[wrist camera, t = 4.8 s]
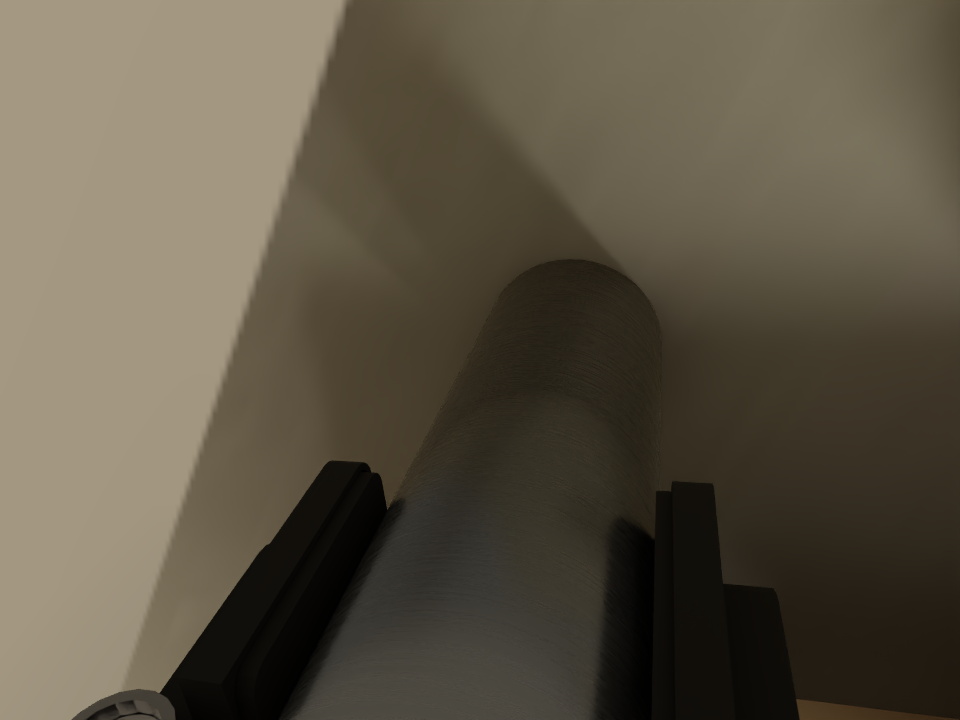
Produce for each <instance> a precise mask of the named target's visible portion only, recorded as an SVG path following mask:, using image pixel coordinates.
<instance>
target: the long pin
mask: <svg viewBox="0 0 960 720" xmlns="http://www.w3.org/2000/svg"><path fill="white" fill-rule="evenodd" d="M660 392H661V332H660V327H659V322H658V319H657V316H656V314H655V311H654V309H653V307H652V305H651V303H650V302H649V300H648V299H647V297H646V296H645V295H644V293H643V292H642V291H641V290H640V289H639V288H638V287H637V286H636V285H635V284H634V283H633V282H632V281H630V280H629V279H628V278H627V277H625V276H624V275H622V274H620V273H619V272H617V271H615V270H613V269H611V268H609V267H607V266H604V265H601V264H598V263H594V262H589V261H584V260H558V261H553V262H548V263H544V264H541V265H538V266H536V267H534V268H532V269H530V270H528V271H526V272H524V273H523V274H521V275H520V276H518V277H517V278H516V279H515V280H513V281H512V282H511V283H510V284H509V285H508V286H507V287H506V289H505V290H504V291H503V292H502V294H501V295H500V297H499V299H498V300H497V302H496V304H495V306H494V308H493V309H492V311H491V313H490V315H489V317H488V319H487V321H486V323H485V325H484V327H483V329H482V330H481V332H480V334H479V336H478V338H477V340H476V342H475V344H474V346H473V348H472V350H471V352H470V353H469V355H468V357H467V359H466V361H465V363H464V365H463V367H462V369H461V371H460V373H459V374H458V376H457V378H456V380H455V382H454V384H453V386H452V388H451V390H450V392H449V394H448V395H447V397H446V399H445V401H444V403H443V405H442V407H441V409H440V411H439V413H438V415H437V417H436V418H435V420H434V422H433V424H432V426H431V428H430V430H429V432H428V434H427V436H426V438H425V439H424V441H423V443H422V445H421V447H420V449H419V451H418V453H417V455H416V457H415V459H414V461H413V462H412V464H411V466H410V468H409V470H408V472H407V474H406V476H405V478H404V480H403V482H402V483H401V485H400V487H399V489H398V491H397V493H396V495H395V497H394V499H393V501H392V503H391V504H390V506H389V508H388V510H387V512H386V514H385V516H384V518H383V520H382V522H381V524H380V526H379V527H378V529H377V531H376V533H375V535H374V537H373V539H372V541H371V543H370V545H369V547H368V548H367V550H366V552H365V554H364V556H363V558H362V560H361V562H360V564H359V566H358V568H357V569H356V571H355V573H354V575H353V577H352V579H351V581H350V583H349V585H348V587H347V589H346V591H345V592H344V594H343V596H342V598H341V600H340V602H339V604H338V606H337V608H336V610H335V612H334V613H333V615H332V617H331V619H330V621H329V623H328V625H327V627H326V629H325V631H324V633H323V634H322V636H321V638H320V640H319V642H318V644H317V646H316V648H315V650H314V652H313V654H312V656H311V657H310V659H309V661H308V663H307V665H306V667H305V669H304V671H303V673H302V675H301V677H300V678H299V680H298V682H297V684H296V686H295V688H294V690H293V692H292V694H291V696H290V698H289V699H288V701H287V703H286V705H285V707H284V709H283V711H282V713H281V715H280V717H279V719H278V720H651V706H652V654H653V602H654V550H655V509H656V491H659V485H660Z"/></svg>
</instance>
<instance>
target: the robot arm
mask: <svg viewBox="0 0 960 720" xmlns="http://www.w3.org/2000/svg"><path fill="white" fill-rule="evenodd" d="M386 512H387V506H386V501H385V496H384V490H383V485H382V480H381V477H380V475H379V474H378V473H371V470H370V467H369V466H368V464H366V463H363V462H347V461H329V462H328V463H327V464H326V465H325V466H324V467H323V469H322V470H321V472H320V473H319V474H318V476H317V477H316V479H315V480H314V482H313V483H312V484H311V486H310V487H309V489H308V490H307V492H306V493H305V494H304V496H303V497H302V499H301V500H300V502H299V503H298V504H297V506H296V507H295V509H294V510H293V512H292V513H291V514H290V516H289V517H288V519H287V520H286V522H285V523H284V524H283V526H282V527H281V529H280V530H279V532H278V533H277V534H276V536H275V537H274V539H273V540H272V542H271V543H270V544H268V545H266V546H265V547H264V548H263V549H262V550H261V551H260V552H259V554H258V555H257V556H256V558H255V559H254V561H253V562H252V563H251V565H250V566H249V568H248V569H247V571H246V572H245V573H244V575H243V576H242V578H241V579H240V580H239V582H238V583H237V585H236V586H235V587H234V589H233V590H232V592H231V593H230V595H229V596H228V597H227V599H226V600H225V602H224V603H223V604H222V606H221V607H220V609H219V610H218V611H217V613H216V614H215V616H214V617H213V619H212V620H211V621H210V623H209V624H208V626H207V627H206V628H205V630H204V631H203V633H202V634H201V636H200V637H199V638H198V640H197V641H196V643H195V644H194V645H193V647H192V648H191V650H190V651H189V652H188V654H187V655H186V657H185V658H184V660H183V661H182V662H181V664H180V665H179V667H178V668H177V669H176V671H175V672H174V674H173V675H172V676H171V678H170V679H169V681H168V682H167V684H166V685H165V686H164V688H163V689H162V691H161V692H160V693H157V692H156V691H150V690H141V689H136V690H130V691H124V692H119V693H116V694H114V695H111V696H109V697H106V698H104V699H101V700H99V701H97V702H96V703H94V704H92V705H91V706H89V707H88V708H86V709H85V710H83V711H81V712H80V713H79V714H77V715H76V716H75V717H74V718H73V719H72V720H278V719H279V717H280V715H281V713H282V711H283V709H284V707H285V705H286V703H287V701H288V699H289V698H290V696H291V694H292V692H293V690H294V688H295V686H296V684H297V682H298V680H299V678H300V677H301V675H302V673H303V671H304V669H305V667H306V665H307V663H308V661H309V659H310V657H311V656H312V654H313V652H314V650H315V648H316V646H317V644H318V642H319V640H320V638H321V636H322V634H323V633H324V631H325V629H326V627H327V625H328V623H329V621H330V619H331V617H332V615H333V613H334V612H335V610H336V608H337V606H338V604H339V602H340V600H341V598H342V596H343V594H344V592H345V591H346V589H347V587H348V585H349V583H350V581H351V579H352V577H353V575H354V573H355V571H356V569H357V568H358V566H359V564H360V562H361V560H362V558H363V556H364V554H365V552H366V550H367V548H368V547H369V545H370V543H371V541H372V539H373V537H374V535H375V533H376V531H377V529H378V527H379V526H380V524H381V522H382V520H383V518H384V516H385V514H386ZM651 720H800V717H799V712H798V706H797V701H796V695H795V690H794V684H793V679H792V673H791V668H790V662H789V657H788V651H787V646H786V640H785V635H784V629H783V624H782V618H781V613H780V607H779V602H778V598H777V594H776V592H775V590H774V588H764V587H753V586H742V585H732V584H723V579H722V569H721V558H720V548H719V537H718V527H717V516H716V506H715V495H714V486H713V484H710V483H694V482H677V481H672V489H671V492H668V491H656V509H655V550H654V602H653V654H652V706H651Z"/></svg>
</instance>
